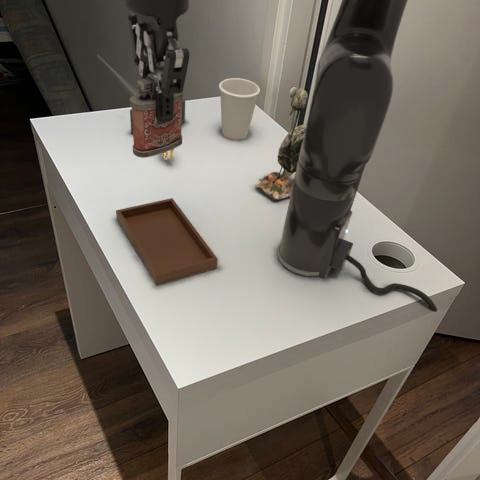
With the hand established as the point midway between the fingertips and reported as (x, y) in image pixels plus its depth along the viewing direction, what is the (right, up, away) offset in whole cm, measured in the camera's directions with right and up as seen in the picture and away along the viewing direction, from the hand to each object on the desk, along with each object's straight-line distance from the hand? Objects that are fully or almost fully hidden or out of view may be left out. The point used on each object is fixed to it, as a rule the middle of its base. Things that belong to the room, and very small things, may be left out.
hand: (157, 111), depth 67 cm
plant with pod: (+19, -3, +29) cm, 35 cm away
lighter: (-1, -4, +4) cm, 5 cm away
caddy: (-6, +13, +39) cm, 42 cm away
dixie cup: (+10, +12, +41) cm, 44 cm away
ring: (-4, +4, +31) cm, 32 cm away
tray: (-1, -16, +14) cm, 21 cm away
